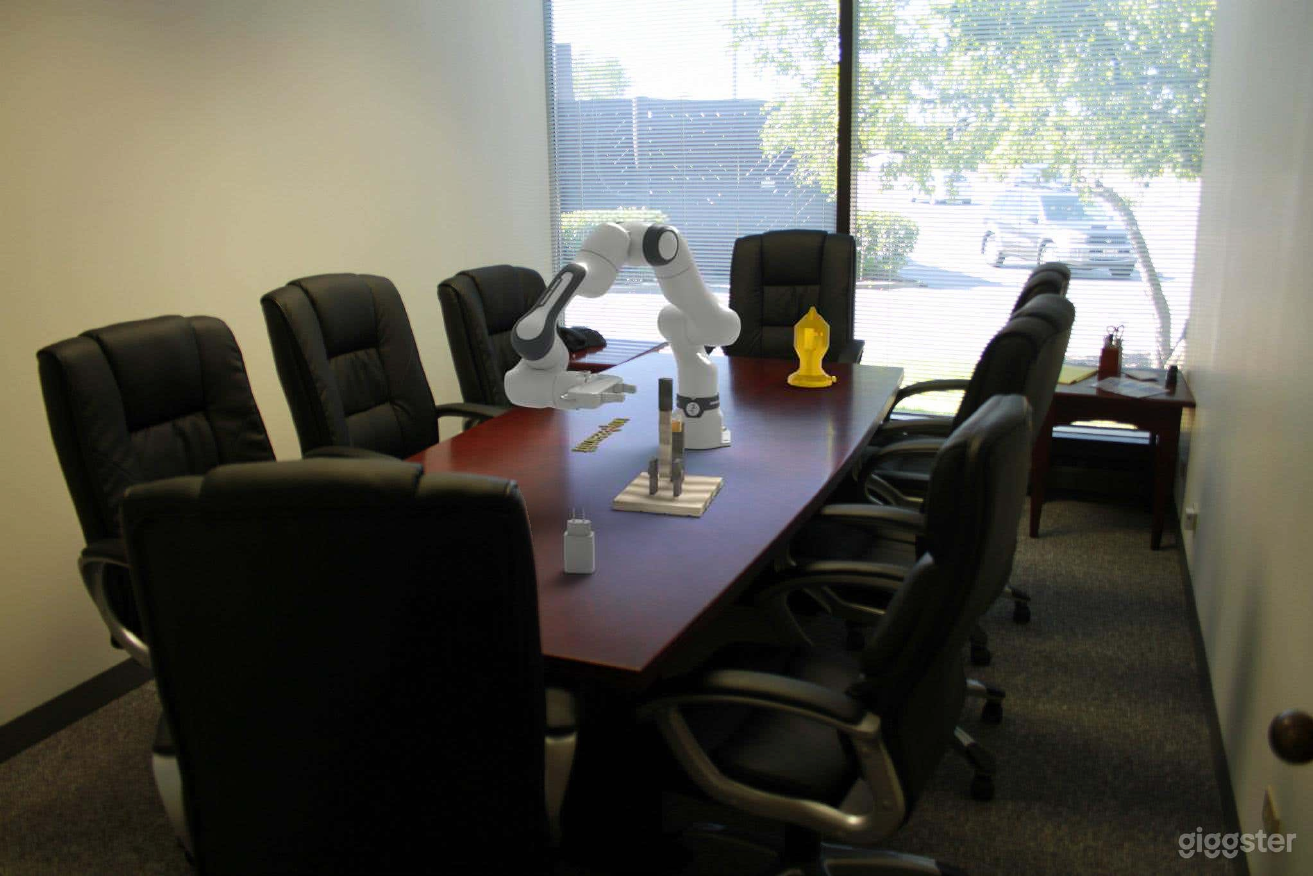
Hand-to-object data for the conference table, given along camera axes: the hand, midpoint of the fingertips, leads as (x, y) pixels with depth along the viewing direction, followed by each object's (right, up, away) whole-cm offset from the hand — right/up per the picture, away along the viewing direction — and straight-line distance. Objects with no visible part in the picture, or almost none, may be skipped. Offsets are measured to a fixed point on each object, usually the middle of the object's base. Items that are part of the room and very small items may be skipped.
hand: (630, 393), depth 220 cm
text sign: (-10, -10, +66) cm, 67 cm away
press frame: (+9, -24, +8) cm, 26 cm away
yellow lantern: (+64, +10, +143) cm, 157 cm away
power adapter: (-8, -35, -36) cm, 51 cm away
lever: (+8, -18, +2) cm, 20 cm away
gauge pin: (+10, -7, +8) cm, 14 cm away
